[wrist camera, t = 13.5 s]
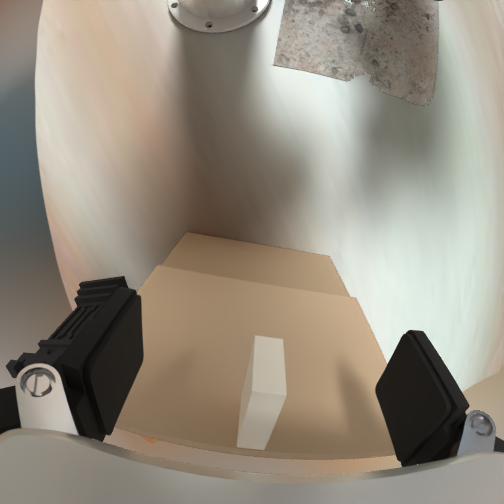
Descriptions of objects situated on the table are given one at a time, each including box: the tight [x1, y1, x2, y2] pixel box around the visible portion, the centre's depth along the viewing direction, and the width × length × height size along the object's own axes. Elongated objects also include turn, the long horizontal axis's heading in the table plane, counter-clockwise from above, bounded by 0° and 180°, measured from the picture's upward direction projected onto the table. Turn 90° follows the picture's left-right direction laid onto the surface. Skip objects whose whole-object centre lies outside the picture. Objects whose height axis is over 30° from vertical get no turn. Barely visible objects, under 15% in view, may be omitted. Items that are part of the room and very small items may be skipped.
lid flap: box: [115, 265, 396, 460], centre depth 18 cm, size 16×18×5 cm
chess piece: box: [6, 276, 128, 378], centre depth 32 cm, size 8×8×20 cm
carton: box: [161, 232, 350, 297], centre depth 34 cm, size 16×18×12 cm
